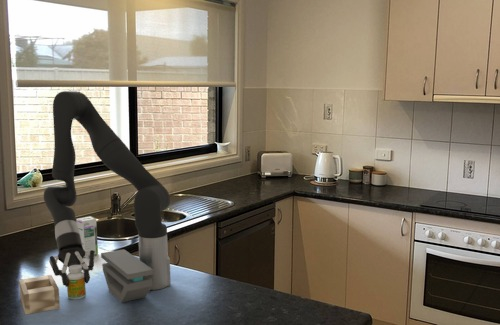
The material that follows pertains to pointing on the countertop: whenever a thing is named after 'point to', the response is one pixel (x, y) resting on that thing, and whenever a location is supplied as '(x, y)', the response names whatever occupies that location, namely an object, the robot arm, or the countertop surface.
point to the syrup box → (88, 234)
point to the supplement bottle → (76, 282)
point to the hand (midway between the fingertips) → (77, 283)
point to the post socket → (39, 294)
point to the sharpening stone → (126, 275)
